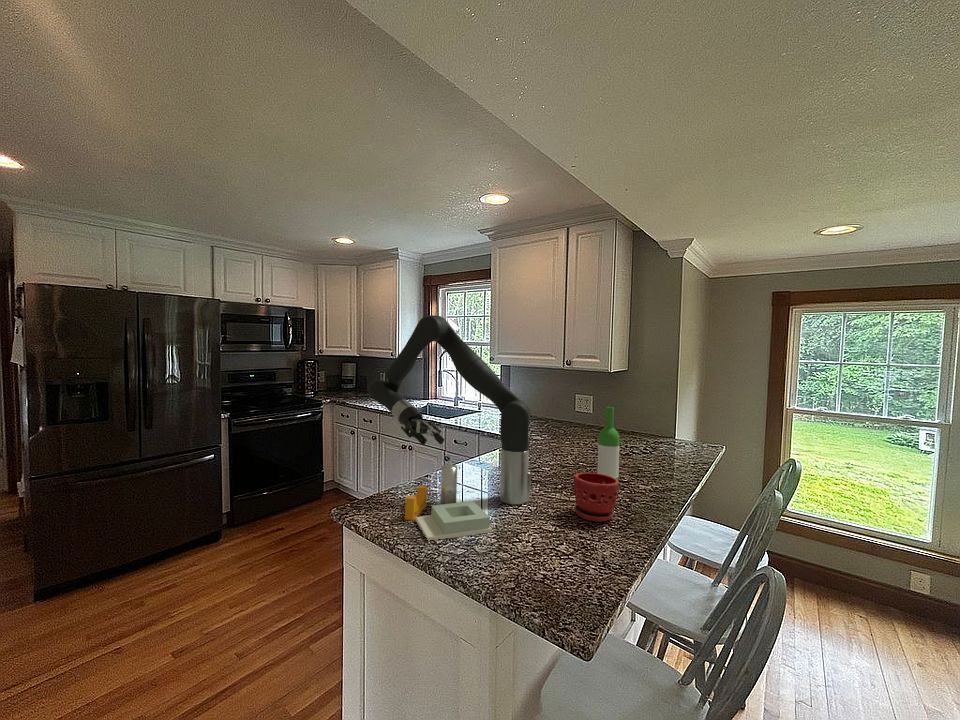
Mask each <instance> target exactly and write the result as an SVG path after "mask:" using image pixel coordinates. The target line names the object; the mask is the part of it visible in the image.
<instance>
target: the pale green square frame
mask: <svg viewBox="0 0 960 720" xmlns="http://www.w3.org/2000/svg"><path fill="white" fill-rule="evenodd" d="M415 521H416V523H417V525H418V527H419V529H420V530H422V531H421V533H422V534H423V536H424V535H425V536H424V537H426V538H427V539H426V538H425V539H426V541H427V540H428V541H427V542H431V541H430V540H434V541H439V540H438V539H441V540H447V539H446V538H448V539H454V538H460V537H468V536H474V535H475V536H476V535H482V534H488V533H492V532H493V529H492V527H491V524H490V523H491V522H490V521H491V517H490V516H489V515H488V514H487V512H485V511H484V510H483V509H482V508H481V507H480V506H479V505H478V504H477V503H476V502H475V501H474V500H470V501H462V502H456V503H451V504H442V505H440V504H435V505H431V513H430V515H422V516H421V515H420V516H417V517H416V518H415Z"/></svg>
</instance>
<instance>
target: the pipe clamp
mask: <svg viewBox="0 0 960 720" xmlns="http://www.w3.org/2000/svg"><path fill="white" fill-rule="evenodd" d="M416 489H417V490H416V494H413V495H407V496H406V497H405V505H404V507H405V508H404V509H405V510H404V520H405V519H406V520H407V521H414V520H416V517H419V515H420V514H421V513H422V511H423V510H424V509H425V508H427V504H428V485H418V486H417V488H416Z"/></svg>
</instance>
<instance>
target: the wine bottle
mask: <svg viewBox="0 0 960 720" xmlns="http://www.w3.org/2000/svg"><path fill="white" fill-rule="evenodd" d="M614 414H615V407H614V406H606V407H605V423H604V424H605V426H604V428H603V429H601V431H599V434H598V446H597V447H598V449H597V472H596V473H598V474H603V475H607V476H610V477H613V478H615V479H617V480H618V481H619V471H620V470H619V469H620V467H619V466H620V434H619V432H618V431H617V430H616V428H614V422H615V421H614V418H615V417H614V416H615V415H614ZM603 484H605V482H603Z"/></svg>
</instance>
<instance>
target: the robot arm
mask: <svg viewBox="0 0 960 720" xmlns="http://www.w3.org/2000/svg"><path fill="white" fill-rule="evenodd" d="M432 342H436V344H437V345H439V346H440V347H441V348H442V349H443V350H445V352H446V353H447V354H448V355H449V357H450V359H451V361H452V364H453V365H454V367H455V369H456V371H457V373H458V374H459V375H460V377H462V378H463V379H464V381H465V382H467V383H468V385H470V386H471V387H472V388H473V389H474V390H475V391H477V392H478V393H480V394H481V395H483V396H484V397H486V398H487V399H488V400H490V401H491V402H492V403H493V404H494V405H495V406H496V407H497V409H498V410H499V411H500V413H501V414H500V442H501V453H500V458H501V459H500V484H499V485H500V488H499V499H500V501H501V502H503V504H504V503H505V504H508V505H509V504H510V505H521V504H522V505H524V504H526V503H527V502H530V501H531V498H530V497H531V472H530V471H529V457H530V454H529V453H530V452H529V451H530V442H529V428H530V427H529V424H530V423H529V422H530V419H531V415H532V412H531V409H530V407H529V405H528V404H527V403H525V401H523V400H522V399H521V398H520V397H518V396H517V395H516V394H515V393H514V392H513V391H512V390H511V389H509V388H508V387H507V386H506V385H505V383H504V382H503V381H502V380H501V379H500V378H499V377H498V375H497V374H496V373H495V372H494V370H492V369H491V368H490V366H489V365H488V364H487V363H486V362H485V361H484V360H483V359H482V357H480V356H479V355H478V354H477V353H476V352H475V351H474V350H473V349H472V348H471V347H470V346H469V345H467V343H466V342H465V341H464V340H463V339H462V338H461V337H460V336H459V335H458V333H457V332H456V331H455V329H454V328H453V327H452V325H451V324H450V323H449V321H447V320H446V318H444V317H443V316H440V315H436V314H435V315H432V314H431V315H425V316H423V317H422V318H420V319H419V321H418V323H417V324H416V326H415V328H414V330H413V331H412V334H411V335H410V337H409V338H408V341H407V342H406V344H405V345H404V347H403V348H402V350H401V351H400V352H399V354H398V355H397V356H396V358H395V359H394V360H393V361H392V362H391V364H390V365H389V366H388V368H387V369H386V370H385V374H384V375H385V377H386V379H387V380H382V379H381V380H380V379H374V380H372V381H371V382H370V383H369V385H368V393H369V396H370V397H371V398H372V400H374V401H375V402H377V403H378V404H379V405H381V406H383V407H385V408H386V409H387V410H388V411H389V413H391V414H392V415H393V417H394V418H395V420H396V421H397V422H398V423H399V424H400V425H401V426H400V429H401V430H402V431H403V432H404V434H405V435H406V436H407V437H408V438H413V439H416V440H417V441H418V442H419V443H420V444H421V445H423V446H425V445H426V443H427V441H428V440H427V438H426V437H425V436H427V437H431V438H433V439H434V440H435V441H436V442H437V443H438V444H439V445H443V443H444V442H445V438H444V437H443V436H442V435H441V432H442V430H441V429H440V428H439V427H438V426H437V425H435V423H433V421H429V423H427V421H424V416H423V414H422V413H421V412H420V411H419V410H418V409H417V408H416V407H415V406H414V405H413V404H412V402H410V401H408V400H407V398H405V397H404V396H403V395H402V394H400V393H399V390H400V387H401V385H402V383H403V381H404V380H405V378H406V377H407V376H408V375H409V373H410V372H411V371H412V369H413V368H414V366H415V365H416V363H417V360H418V357H419V355H420V354H421V353H422V352H423V350H424V349H425V348H426V347H427V346H429V344H431V343H432ZM423 434H424V435H425V436H424V435H423ZM525 502H526V503H525Z"/></svg>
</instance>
